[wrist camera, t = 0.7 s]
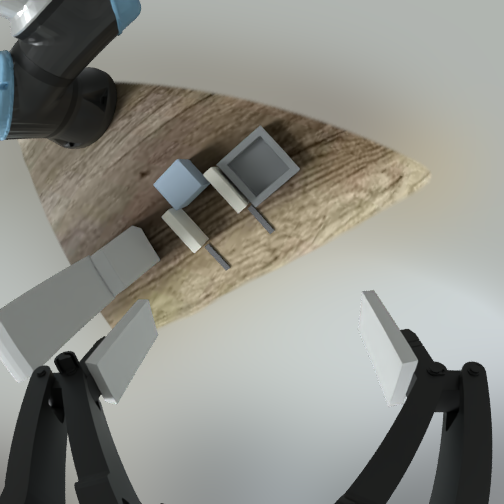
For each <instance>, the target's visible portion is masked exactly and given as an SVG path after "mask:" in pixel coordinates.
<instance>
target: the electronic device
mask: <svg viewBox="0 0 504 504" xmlns="http://www.w3.org/2000/svg"><path fill="white" fill-rule="evenodd" d="M159 261H160V259H159V257H158V255H157V254H156V252H155V251H154V249H153V247H152V246H151V244H150V242H149V241H148V239H147V237H146V236H145V234H144V232H143V231H142V229H141V228H139V227H136V226H133V225H132V226H131V227H130V228H128V229H127V230H125V231H124V232H123V233H121V234H120V235H118V236H117V237H116V238H114V239H113V240H112V241H110V242H109V243H108V244H106V245H105V246H104V247H102V248H101V249H100V250H98V251H97V252H96V253H94V254H93V255H92V256H87V257H85V258H83V259H82V260H80V261H78V262H76V263H74V264H73V265H71V266H69V267H67V268H66V269H64V270H62V271H61V272H59V273H57V274H55V275H54V276H52V277H50V278H49V279H47V280H45V281H44V282H42V283H40V284H39V285H37V286H36V287H34V288H32V289H31V290H29V291H27V292H26V293H24V294H23V295H21V296H20V297H18V298H16V299H15V300H13V301H12V302H10V303H9V304H7V305H6V306H4V307H3V308H1V309H0V359H1V361H2V362H3V364H4V365H5V366H6V368H7V369H8V371H9V372H10V373H11V375H12V376H13V378H14V379H15V380H16V382H17V383H19V382H22V381H24V380H25V379H27V378H29V377H30V376H31V375H32V373H33V371H34V370H35V369H36V368H37V367H39V366H43V365H44V364H45V363H46V362H47V361H48V360H49V359H50V358H51V357H52V356H53V355H54V354H55V353H56V352H57V351H58V350H59V349H60V348H61V347H62V346H63V345H64V344H65V343H66V342H68V341H69V340H70V338H72V337H73V336H74V335H75V334H76V333H77V332H78V331H79V330H80V329H81V328H82V327H84V325H86V324H87V323H88V322H89V321H90V320H91V319H92V318H93V317H94V316H96V315H97V314H98V313H99V312H100V311H101V310H102V309H103V308H104V307H106V306H107V305H108V304H109V303H110V302H111V301H112V300H113V299H115V296H116V295H117V294H118V293H120V292H121V291H123V290H124V289H126V288H127V287H128V286H129V285H130V284H132V283H133V282H134V281H135V280H136V279H138V278H139V277H140V276H141V275H143V274H144V273H145V272H146V271H148V270H149V269H150V268H151V267H152V266H154V265H155V264H156V263H157V262H159Z"/></svg>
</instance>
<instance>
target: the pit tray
mask: <svg viewBox="0 0 504 504" xmlns="http://www.w3.org/2000/svg"><path fill="white" fill-rule="evenodd" d="M217 166H218V167H219V168H220V169H221V170H222V171H223V172H224V173H225V174H226V175H227V176H228V178H229V179H230V180H231V181H232V182H233V183H234V184H235V185H236V186H237V187H238V189H239V190H240V191H241V192H242V193H243V194H244V195H245V196H246V197H247V199H248V200H249V201H250V202H251V203H252V204H253V205H254V206H255V207H257V206H258V205H259V204H260V203H261V202H263V201H264V200H265V199H266V198H267V197H268V196H270V195H271V194H272V193H273V192H274V191H275V190H277V189H278V188H279V187H280V186H281V185H282V184H284V183H285V182H286V181H287V180H288V179H290V178H291V177H292V176H293V175H294V174H296V173H297V172H298V171H299V170H300V169H299V167H298V166H297V165H296V164H295V163H294V162H293V161H292V159H291V158H290V157H289V156H288V155H287V154H286V153H285V152H284V150H283V149H282V148H281V147H280V146H279V145H278V144H277V143H276V142H275V141H274V139H273V138H272V137H271V136H270V135H269V134H268V133H267V132H266V131H265V130H264V129H263V128H262V127H261V126H259V127H258V128H257V129H256V130H254V131H253V132H252V133H251V134H250V135H249V136H248V137H246V138H245V139H244V140H243V141H242V142H241V143H240V144H238V145H237V146H236V147H235V148H234V149H233V150H232V151H231V152H230V153H228V154H227V155H226V156H225V157H224V158H223V159H222V160H221V161H220V162H219V163H218V164H217Z"/></svg>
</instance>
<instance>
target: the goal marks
mask: <svg viewBox="0 0 504 504" xmlns="http://www.w3.org/2000/svg"><path fill="white" fill-rule="evenodd" d="M248 210H249V211H250V212H251V213H252V214H253V215H254V217H255V218H256V219H257V220H258V221H259V222H260V223H261V224H262V226H263V227H264V228H265V229H266V230H267V231H268V232H269V233H270V234H271V233H272V232H273V231H274V229H273V228H272V227H271V226H270V225H269V224H268V223H267V221H266V220H265V219H264V218H263V217H262V216H261V215H260V214H259V212H258V211H257V210H256V209H255V208H254V207H253V206H252V205H251V206H250V207H249V208H248ZM205 248H206V249H207V250H208V252H209V253H210V254H211V255H212V256H213V257H214V258H215V259H216V260H217V261H218V262H219V263H220V264H221V265H222V267H223V268H224V269H225V270H226V271H227V270H228V269H229V268H230V266H229V265H228V264H227V263H226V262H225V261H224V260H223V259H222V257H221V256H220V255H219V254H218V253H217V252H216V251H215V250H214V249H213V248H212V247H211V246H210V244H207V245H206V246H205Z"/></svg>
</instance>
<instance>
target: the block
mask: <svg viewBox="0 0 504 504" xmlns="http://www.w3.org/2000/svg"><path fill="white" fill-rule="evenodd" d="M209 184H210V182H209V181H208V180H207V179H206V178H205V177H204V176H203V174H202V173H201V172H200V171H199V170H198V169H197V168H196V167H195V166H194V165H193V164H192V162H191V161H190V160H188V159H177V160H176V161H175V162H174V163H173V164H172V165H171V166H170V167H169V168H168V169H167V170H166V171H165V173H164V174H163V175H162V176H161V177H160V178H159V179H158V180H157V181H156V182H155V183H154V186H155V187H156V188H157V190H158V191H159V192H160V193H161V194H162V195H163V196H164V198H165V199H166V200H167V201H168V202H169V203H170V204H171V205H172V206H173V208H174V209H175V210H176V211H177V210H179V209H181V208H183V207H186V206H188V205H189V204H190V203H191V202H192V201H193V200H194V199H195V198H196V197H197V196H198V195H199V194H200V193H201V192H202V191H203V190H204V189H205V188H206V187H207V186H208V185H209Z"/></svg>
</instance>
